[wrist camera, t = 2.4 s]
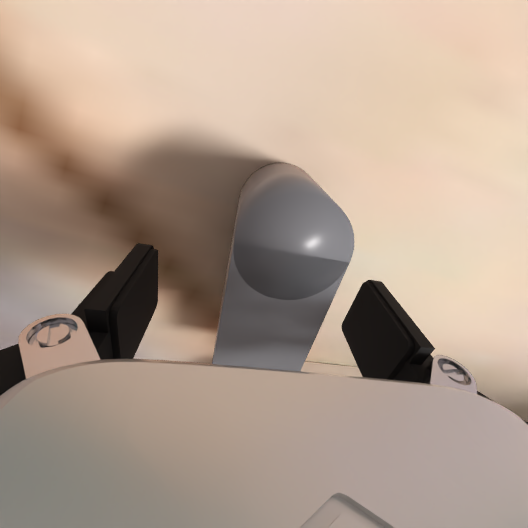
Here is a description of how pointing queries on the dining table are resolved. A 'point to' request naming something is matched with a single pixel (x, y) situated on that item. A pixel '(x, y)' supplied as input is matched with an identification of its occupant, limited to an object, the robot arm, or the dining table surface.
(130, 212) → the dining table surface
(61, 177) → the dining table surface
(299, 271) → the grey plug
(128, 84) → the dining table surface
